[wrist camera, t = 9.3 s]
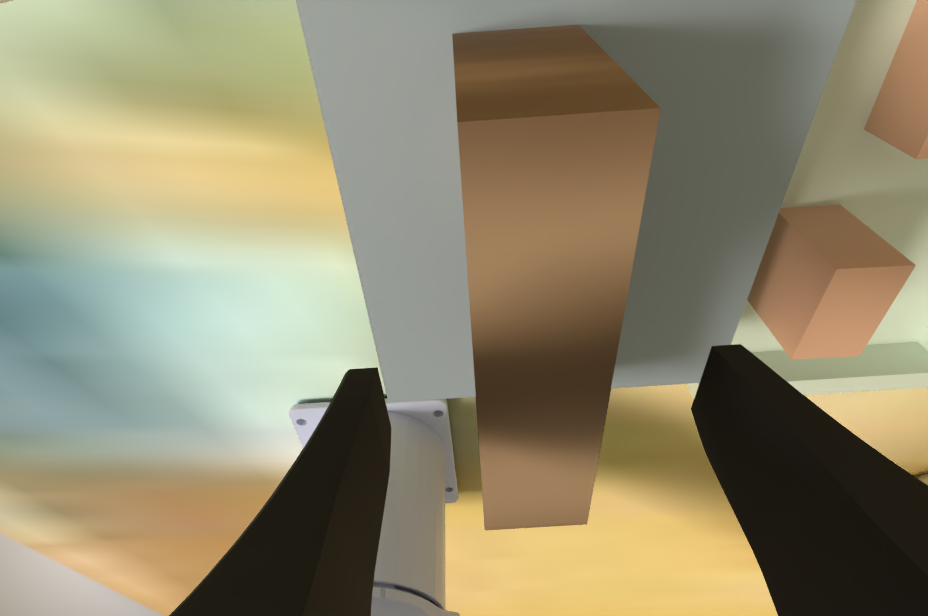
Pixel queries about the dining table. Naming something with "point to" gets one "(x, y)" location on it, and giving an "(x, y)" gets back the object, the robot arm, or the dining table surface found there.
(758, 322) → the tray
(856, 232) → the tile
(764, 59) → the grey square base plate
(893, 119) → the tile
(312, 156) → the dining table surface
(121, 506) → the dining table surface
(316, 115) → the dining table surface
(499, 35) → the long brown wooden post
